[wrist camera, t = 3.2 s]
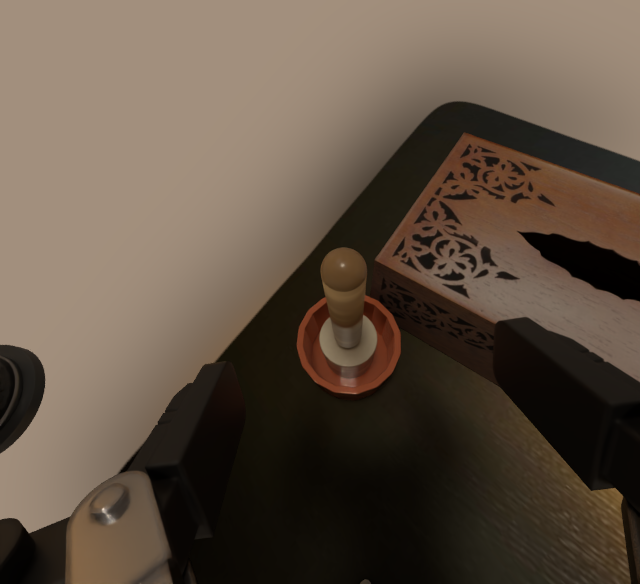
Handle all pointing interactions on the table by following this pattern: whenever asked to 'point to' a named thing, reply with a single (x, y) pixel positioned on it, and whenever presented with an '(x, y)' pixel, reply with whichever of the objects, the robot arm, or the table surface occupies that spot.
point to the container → (365, 582)
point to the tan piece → (346, 315)
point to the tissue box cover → (515, 257)
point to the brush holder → (381, 362)
